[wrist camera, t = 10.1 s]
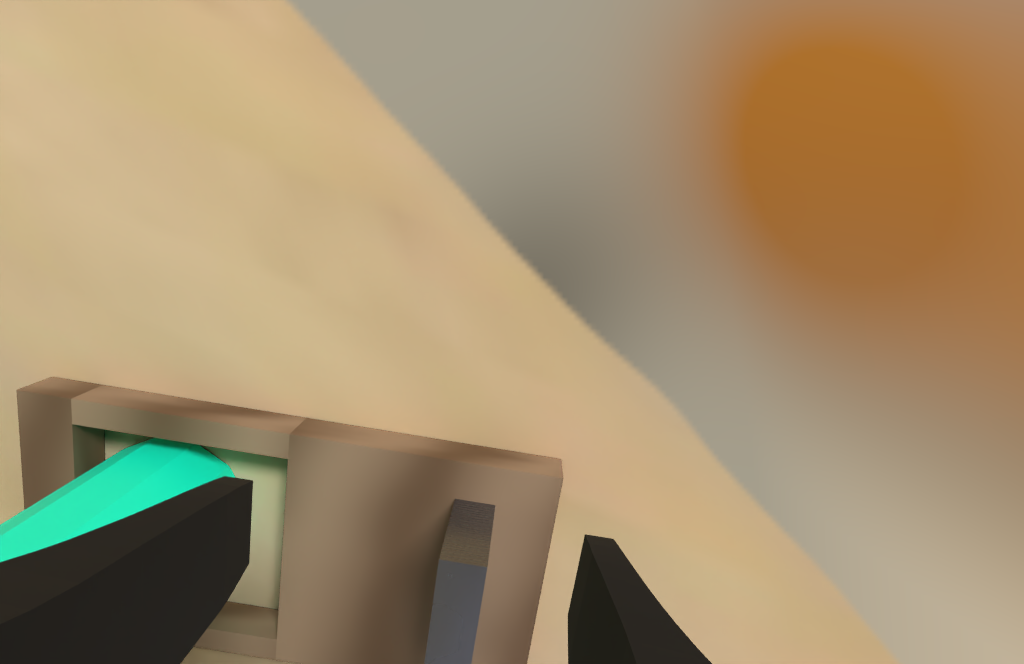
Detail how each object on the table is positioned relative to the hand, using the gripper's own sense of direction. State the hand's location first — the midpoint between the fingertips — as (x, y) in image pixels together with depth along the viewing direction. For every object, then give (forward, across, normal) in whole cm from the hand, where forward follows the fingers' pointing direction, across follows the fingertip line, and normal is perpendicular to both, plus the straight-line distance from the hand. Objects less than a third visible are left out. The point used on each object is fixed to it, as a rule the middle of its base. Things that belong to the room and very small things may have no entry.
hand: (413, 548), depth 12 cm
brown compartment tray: (+9, +6, +7) cm, 13 cm away
